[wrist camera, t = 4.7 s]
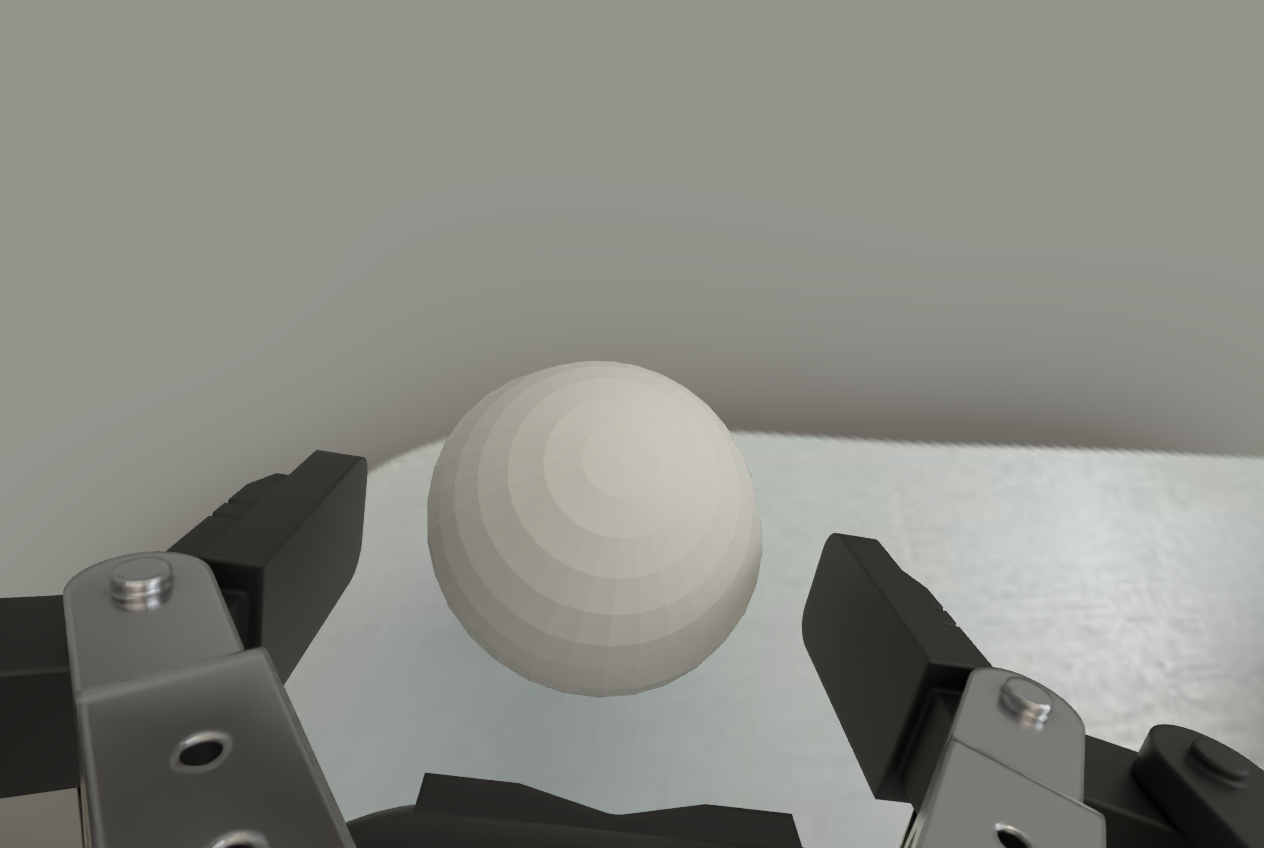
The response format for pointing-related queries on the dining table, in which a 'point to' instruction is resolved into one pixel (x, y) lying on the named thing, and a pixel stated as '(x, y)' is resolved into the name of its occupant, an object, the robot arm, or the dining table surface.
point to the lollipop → (595, 528)
